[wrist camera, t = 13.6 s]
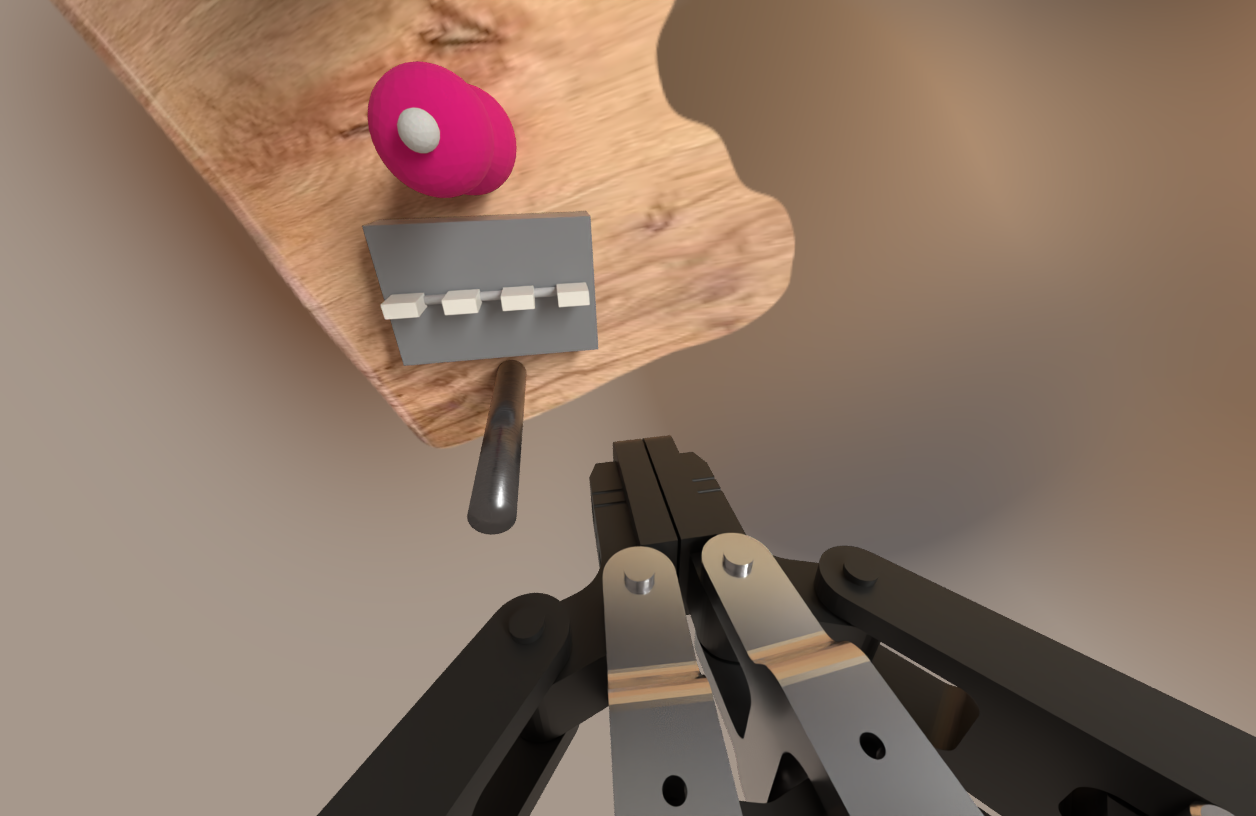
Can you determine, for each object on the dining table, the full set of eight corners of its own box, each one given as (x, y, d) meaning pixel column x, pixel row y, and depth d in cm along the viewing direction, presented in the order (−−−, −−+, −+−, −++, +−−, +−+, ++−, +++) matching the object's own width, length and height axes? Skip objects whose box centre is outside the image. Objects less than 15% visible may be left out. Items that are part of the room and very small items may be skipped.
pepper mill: (446, 198, 38) (368, 231, 21) (412, 98, 34) (285, 38, 17) (528, 183, 39) (518, 203, 21) (504, 83, 35) (468, 9, 18)
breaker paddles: (392, 293, 37) (380, 304, 35) (585, 281, 40) (588, 290, 37) (396, 307, 38) (384, 319, 35) (586, 294, 40) (589, 304, 37)
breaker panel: (378, 219, 38) (362, 225, 35) (586, 211, 40) (590, 215, 37) (414, 349, 44) (404, 365, 41) (594, 335, 46) (598, 349, 43)
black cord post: (502, 356, 46) (475, 493, 27) (530, 365, 47) (522, 504, 28) (493, 380, 47) (461, 529, 28) (521, 389, 48) (507, 538, 29)
